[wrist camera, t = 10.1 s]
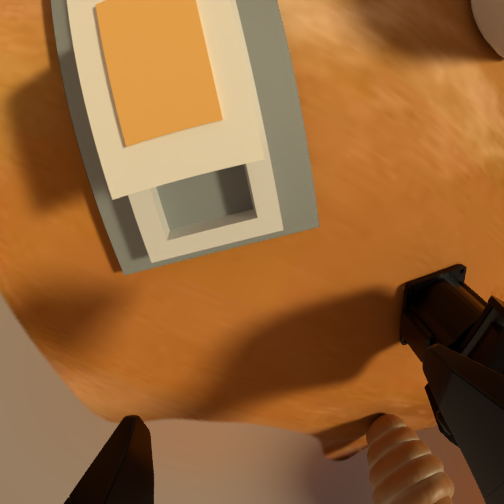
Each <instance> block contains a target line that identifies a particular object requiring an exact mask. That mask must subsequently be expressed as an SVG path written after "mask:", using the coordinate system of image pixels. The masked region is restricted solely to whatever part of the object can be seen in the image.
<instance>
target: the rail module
mask: <svg viewBox="0 0 504 504" xmlns="http://www.w3.org/2000/svg"><path fill="white" fill-rule="evenodd" d="M67 7H68V15H69V22H70V29H71V36H72V42H73V48H74V53H75V59H76V64H77V69H78V74H79V79H80V84H81V88H82V93H83V97H84V102H85V106H86V110H87V114H88V118H89V122H90V126H91V130H92V133H93V137H94V141H95V144H96V148H97V152H98V155H99V158H100V162H101V165H102V169H103V172H104V175H105V178H106V182H107V185H108V188H109V191H110V194H111V197H112V200H114V199H117V198H120V197H123V196H127V195H130V194H133V193H136V192H140V191H143V190H146V189H150V188H153V187H157V186H160V185H164V184H167V183H171V182H175V181H178V180H182V179H186V178H189V177H193V176H197V175H201V174H205V173H209V172H213V171H217V170H221V169H225V168H229V167H234V166H238V165H242V164H247V163H251V162H256V161H260V160H265V158H264V153H263V148H262V143H261V138H260V133H259V128H258V123H257V118H256V114H255V109H254V104H253V100H252V95H251V90H250V86H249V81H248V76H247V72H246V67H245V63H244V59H243V54H242V50H241V45H240V41H239V37H238V32H237V28H236V24H235V20H234V15H233V11H232V7H231V3H230V0H67Z"/></svg>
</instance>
